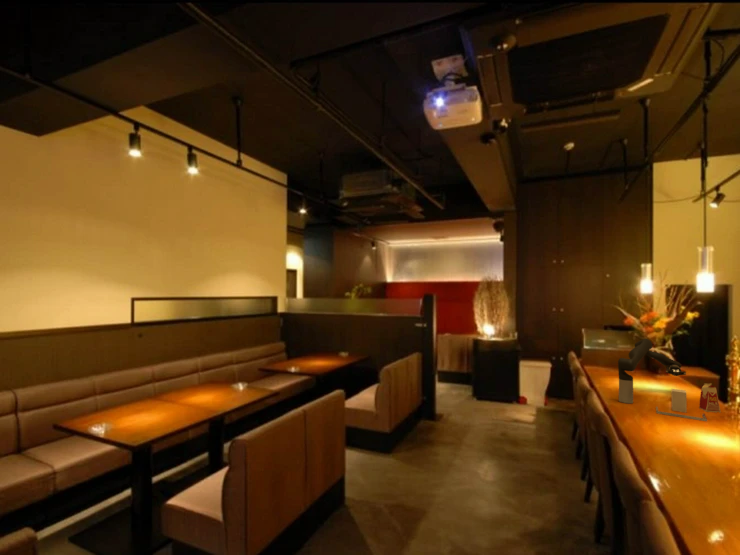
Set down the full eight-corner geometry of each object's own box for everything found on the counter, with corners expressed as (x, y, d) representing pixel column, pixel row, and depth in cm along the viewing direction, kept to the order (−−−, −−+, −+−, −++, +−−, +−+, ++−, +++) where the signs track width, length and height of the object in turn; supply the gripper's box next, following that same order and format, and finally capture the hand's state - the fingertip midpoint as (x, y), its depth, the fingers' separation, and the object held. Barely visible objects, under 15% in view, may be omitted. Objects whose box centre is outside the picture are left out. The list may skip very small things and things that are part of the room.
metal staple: (656, 413, 273) (656, 411, 273) (656, 408, 284) (655, 406, 284) (707, 421, 257) (707, 419, 257) (704, 415, 268) (704, 413, 268)
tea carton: (672, 410, 279) (672, 391, 280) (671, 407, 286) (671, 388, 286) (686, 412, 275) (686, 392, 275) (685, 409, 281) (685, 390, 282)
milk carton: (721, 412, 275) (720, 384, 276) (706, 411, 277) (705, 383, 278) (712, 408, 284) (712, 381, 285) (698, 407, 286) (697, 380, 286)
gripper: (664, 364, 317) (665, 368, 303) (685, 366, 309) (687, 370, 295) (664, 373, 317) (665, 377, 302) (685, 376, 309) (687, 380, 295)
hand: (676, 374), depth 299 cm, fingers closed
